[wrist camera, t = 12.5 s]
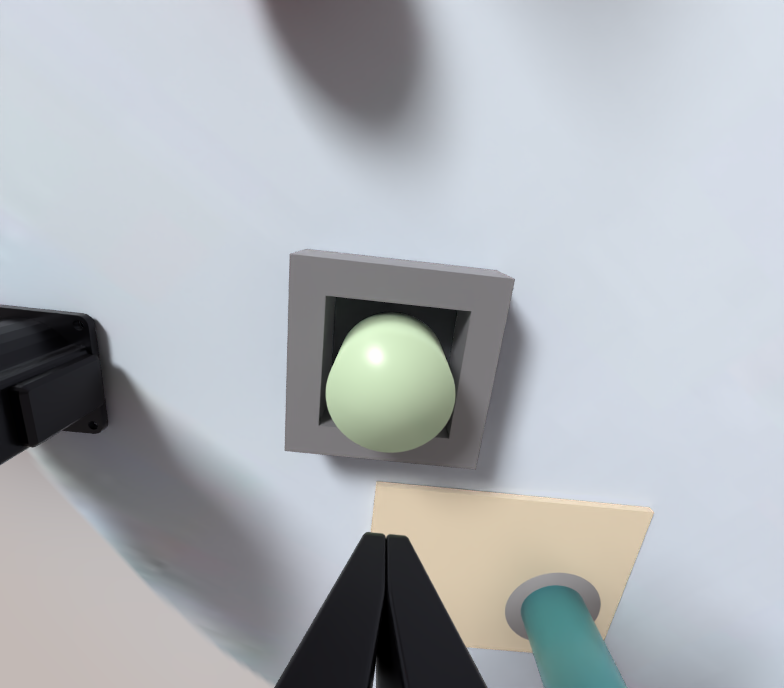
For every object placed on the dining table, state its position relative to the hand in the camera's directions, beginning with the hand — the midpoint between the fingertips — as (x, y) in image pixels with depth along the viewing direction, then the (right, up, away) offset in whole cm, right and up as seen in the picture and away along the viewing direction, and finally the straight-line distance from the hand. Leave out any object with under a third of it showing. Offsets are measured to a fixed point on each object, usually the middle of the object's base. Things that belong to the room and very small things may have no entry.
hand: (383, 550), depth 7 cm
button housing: (0, +4, +12) cm, 12 cm away
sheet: (+7, -10, +16) cm, 20 cm away
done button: (0, +3, +10) cm, 10 cm away
